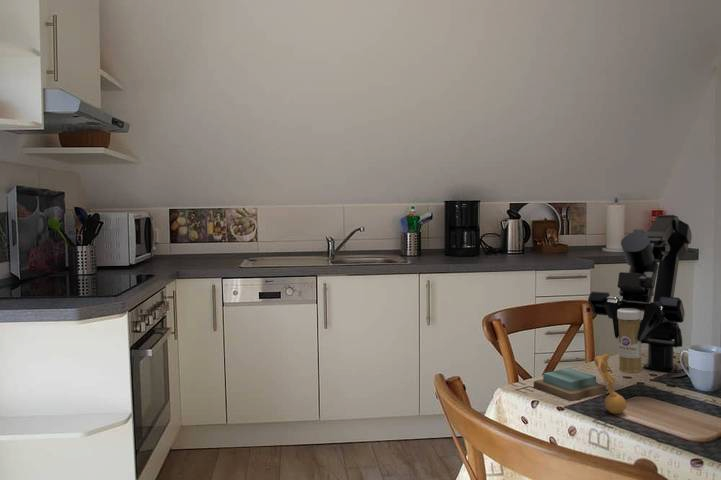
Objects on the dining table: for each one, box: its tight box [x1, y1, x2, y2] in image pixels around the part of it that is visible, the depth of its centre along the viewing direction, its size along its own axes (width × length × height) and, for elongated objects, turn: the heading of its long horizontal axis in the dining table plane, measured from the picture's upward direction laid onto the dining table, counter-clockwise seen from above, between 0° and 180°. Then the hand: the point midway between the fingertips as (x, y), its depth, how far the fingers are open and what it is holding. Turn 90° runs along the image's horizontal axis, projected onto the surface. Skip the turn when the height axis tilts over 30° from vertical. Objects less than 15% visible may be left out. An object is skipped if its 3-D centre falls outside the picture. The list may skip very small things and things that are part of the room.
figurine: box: [593, 353, 627, 415], centre depth 119 cm, size 8×6×12 cm
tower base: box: [533, 368, 607, 402], centre depth 134 cm, size 11×11×4 cm
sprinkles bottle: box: [617, 308, 643, 375], centre depth 127 cm, size 5×5×13 cm
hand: (627, 338), depth 126 cm, fingers closed on sprinkles bottle, 4 cm apart
